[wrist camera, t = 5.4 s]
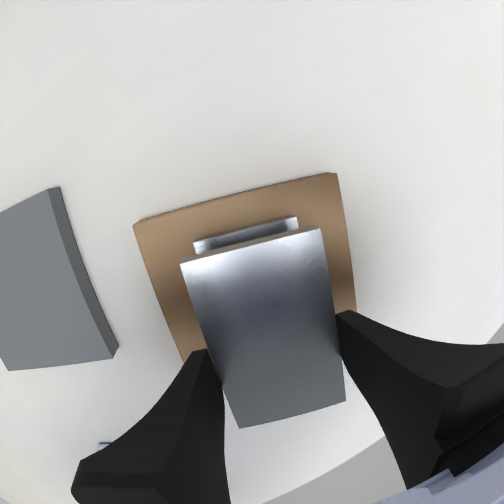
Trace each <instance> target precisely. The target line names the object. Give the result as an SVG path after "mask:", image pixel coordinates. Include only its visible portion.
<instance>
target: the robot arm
mask: <svg viewBox="0 0 504 504" xmlns="http://www.w3.org/2000/svg"><path fill="white" fill-rule="evenodd" d="M335 315H336V324H337V331H338V338H339V346H340V353H341V358H342V360H343V362H344V364H345V366H346V369H347V371H348V373H349V374H350V376H351V378H352V379H353V381H354V382H355V384H356V385H357V387H358V388H359V390H360V392H361V393H362V395H363V396H364V398H365V399H366V401H367V402H368V404H369V405H370V407H371V408H372V410H373V412H374V413H375V415H376V417H377V419H378V421H379V423H380V425H381V427H382V429H383V431H384V433H385V436H386V438H387V440H388V442H389V445H390V447H391V449H392V451H393V454H394V456H395V458H396V461H397V464H398V466H399V469H400V471H401V474H402V477H403V480H404V483H405V485H406V489H407V490H406V491H404V492H401V493H399V494H396V495H393V496H391V497H388V498H386V499H384V500H382V501H379V502H376V503H374V504H504V343H499V344H484V345H466V344H452V343H445V342H438V341H432V340H428V339H424V338H420V337H416V336H412V335H409V334H406V333H403V332H400V331H397V330H395V329H392V328H390V327H387V326H385V325H382V324H380V323H378V322H376V321H374V320H371V319H369V318H367V317H365V316H363V315H361V314H359V313H357V312H354V311H352V310H350V309H349V310H346V311H343V312H340V313H337V314H335ZM224 428H225V405H224V397H223V389H222V385H221V382H220V380H219V377H218V375H217V372H216V370H215V367H214V365H213V362H212V360H211V357H210V355H209V352H208V349H207V348H205V349H201V350H196V351H192V352H191V354H190V355H189V357H188V359H187V360H186V362H185V363H184V365H183V367H182V368H181V370H180V371H179V373H178V374H177V376H176V377H175V379H174V380H173V382H172V383H171V385H170V386H169V388H168V389H167V390H166V392H165V393H164V394H163V395H162V397H161V398H160V399H159V401H158V402H157V403H156V404H155V405H154V406H153V408H152V409H151V410H150V411H149V412H148V413H147V414H146V415H145V416H144V417H143V418H142V419H141V420H140V421H139V422H137V423H136V424H135V425H134V426H133V427H132V428H131V429H129V430H128V431H127V432H126V433H125V434H123V435H122V436H121V437H119V438H118V439H117V440H115V441H114V442H112V443H111V444H99V445H98V447H97V448H98V450H99V451H98V452H96V453H94V454H92V455H90V456H88V457H86V458H84V459H82V460H80V463H79V466H78V469H77V472H76V475H75V478H74V481H73V484H72V487H71V494H72V495H73V497H74V498H75V500H76V501H77V502H78V503H79V504H231V502H230V496H229V489H228V483H227V475H226V467H225V457H224Z"/></svg>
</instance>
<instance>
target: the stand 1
mask: <svg viewBox="0 0 504 504" xmlns="http://www.w3.org/2000/svg"><path fill="white" fill-rule="evenodd" d="M118 347H119V345H118V343H117V341H116V339H115V337H114V335H113V333H112V331H111V328H110V326H109V324H108V322H107V320H106V318H105V315H104V313H103V311H102V309H101V306H100V304H99V302H98V299H97V297H96V294H95V292H94V290H93V287H92V285H91V282H90V280H89V277H88V274H87V272H86V269H85V266H84V264H83V261H82V258H81V255H80V253H79V250H78V247H77V244H76V241H75V238H74V235H73V232H72V229H71V225H70V222H69V219H68V216H67V212H66V209H65V205H64V202H63V198H62V194H61V190H60V187H57V188H52V189H47V190H45V191H43V192H41V193H39V194H36V195H34V196H32V197H30V198H28V199H26V200H24V201H22V202H20V203H18V204H16V205H15V206H13V207H11V208H9V209H7V210H5V211H3V212H1V213H0V358H1V359H2V361H3V363H4V365H5V366H6V368H7V370H8V371H13V370H25V369H36V368H45V367H54V366H63V365H70V364H78V363H85V362H92V361H99V360H106V359H112V358H113V357H114V355H115V353H116V351H117V349H118Z"/></svg>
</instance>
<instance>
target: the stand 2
mask: <svg viewBox="0 0 504 504" xmlns="http://www.w3.org/2000/svg"><path fill="white" fill-rule="evenodd" d="M289 215H294V216H296V218H297V222H298V227H299V228H301V227H305V226H310V225H315V226H317V227H319V228H320V229H321V234H322V239H323V244H324V250H325V255H326V261H327V266H328V272H329V278H330V283H331V289H332V296H333V302H334V308H335V314H337V313H340V312H343V311H346V310H349V309H350V310H352V311H354V312H357V310H356V299H355V290H354V281H353V272H352V264H351V256H350V249H349V242H348V235H347V228H346V222H345V216H344V209H343V204H342V198H341V192H340V187H339V182H338V177H337V173H328V172H327V173H323V174H318V175H313V176H308V177H304V178H299V179H295V180H290V181H286V182H282V183H277V184H273V185H269V186H264V187H260V188H256V189H252V190H248V191H244V192H240V193H236V194H232V195H228V196H224V197H221V198H217V199H213V200H209V201H206V202H202V203H198V204H195V205H191V206H187V207H184V208H180V209H177V210H173V211H170V212H166V213H163V214H160V215H156V216H153V217H149V218H146V219H143V220H140V221H138V222H137V223H135V224H134V225H133V230H134V233H135V236H136V239H137V242H138V245H139V248H140V251H141V254H142V257H143V260H144V263H145V266H146V269H147V272H148V274H149V277H150V280H151V283H152V286H153V288H154V291H155V294H156V296H157V299H158V302H159V304H160V307H161V309H162V312H163V314H164V317H165V319H166V322H167V324H168V327H169V329H170V332H171V334H172V336H173V339H174V341H175V344H176V346H177V348H178V351H179V353H180V355H181V357H182V360H183V362H184V363H185V362H186V360H187V359H188V357H189V355H190V354H191V352H192V351H196V350H201V349H205V348H207V345H206V342H205V339H204V337H203V334H202V331H201V328H200V325H199V322H198V319H197V316H196V313H195V310H194V308H193V305H192V301H191V298H190V295H189V292H188V289H187V286H186V283H185V280H184V277H183V273H182V270H181V267H180V263H181V261H182V260H183V258H184V257H188V256H192V255H195V254H196V251H195V247H194V244H193V243H194V241H195V240H196V239H199V238H202V237H206V236H210V235H214V234H218V233H222V232H225V231H229V230H233V229H237V228H241V227H245V226H249V225H253V224H257V223H261V222H265V221H269V220H273V219H277V218H281V217H285V216H289ZM207 349H208V348H207ZM208 352H209V351H208ZM209 355H210V353H209ZM210 357H211V356H210ZM211 360H212V359H211ZM212 362H213V361H212ZM213 365H214V364H213ZM215 370H216V369H215Z"/></svg>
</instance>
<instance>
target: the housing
mask: <svg viewBox="0 0 504 504" xmlns="http://www.w3.org/2000/svg"><path fill="white" fill-rule="evenodd" d="M193 244H194V247H195V251H196V254H195V255H192V256H188V257H184V258H183V260H182V261H181V263H180V267H181V270H182V273H183V277H184V280H185V283H186V286H187V289H188V292H189V295H190V298H191V301H192V305H193V308H194V310H195V313H196V316H197V319H198V322H199V325H200V328H201V331H202V334H203V337H204V339H205V342H206V345H207V348H208V351H209V353H210V356H211V359H212V361H213V364H214V367H215V369H216V372H217V375H218V377H219V380H220V382H221V385H222V388H223V390H224V393H225V395H226V398H227V400H228V403H229V405H230V408H231V410H232V413H233V415H234V417H235V420H236V422H237V425H238V427H239V429H240V428H245V427H250V426H255V425H260V424H264V423H269V422H273V421H277V420H281V419H286V418H289V417H293V416H297V415H301V414H304V413H308V412H312V411H315V410H318V409H322V408H325V407H328V406H331V405H335V404H338V403H341V402H344V401H346V396H345V386H344V376H343V368H342V359H341V353H340V346H339V338H338V331H337V324H336V315H335V308H334V302H333V296H332V289H331V283H330V278H329V272H328V266H327V261H326V255H325V250H324V244H323V239H322V234H321V229H320V228H319V227H317V226H315V225H310V226H305V227H301V228H299V227H298V222H297V218H296V216H294V215H289V216H285V217H281V218H277V219H273V220H269V221H265V222H261V223H257V224H253V225H249V226H245V227H241V228H237V229H233V230H229V231H225V232H222V233H218V234H214V235H210V236H206V237H202V238H199V239H196V240H195V241H194V243H193Z"/></svg>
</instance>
